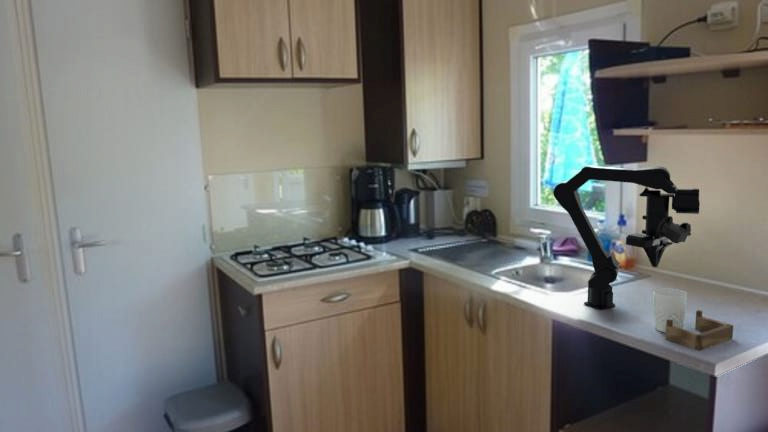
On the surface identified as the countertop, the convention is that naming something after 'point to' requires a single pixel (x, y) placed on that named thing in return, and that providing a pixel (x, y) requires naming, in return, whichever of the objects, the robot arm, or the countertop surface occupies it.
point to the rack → (711, 336)
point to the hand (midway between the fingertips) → (654, 266)
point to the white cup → (669, 307)
